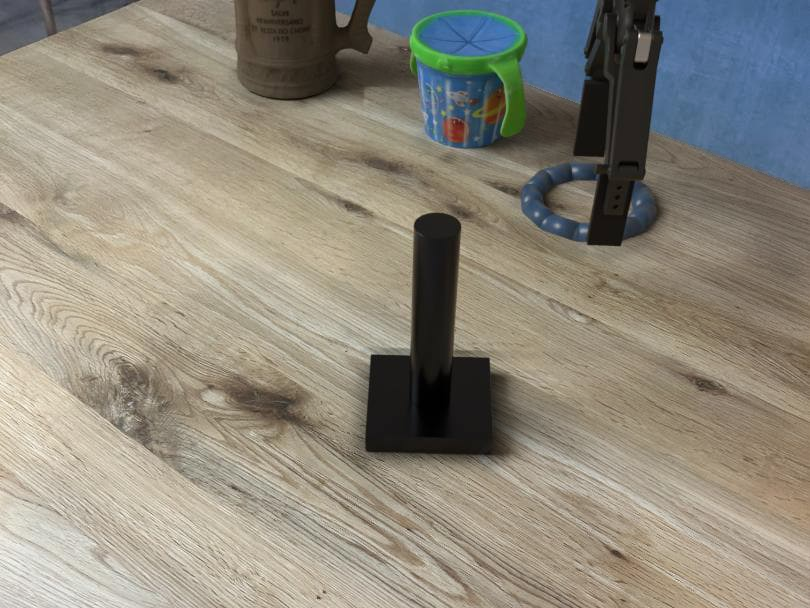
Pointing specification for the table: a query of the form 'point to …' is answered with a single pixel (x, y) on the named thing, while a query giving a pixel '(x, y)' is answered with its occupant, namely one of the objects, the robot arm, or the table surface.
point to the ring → (569, 228)
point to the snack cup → (469, 76)
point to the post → (431, 363)
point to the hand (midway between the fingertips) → (595, 197)
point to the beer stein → (295, 44)
